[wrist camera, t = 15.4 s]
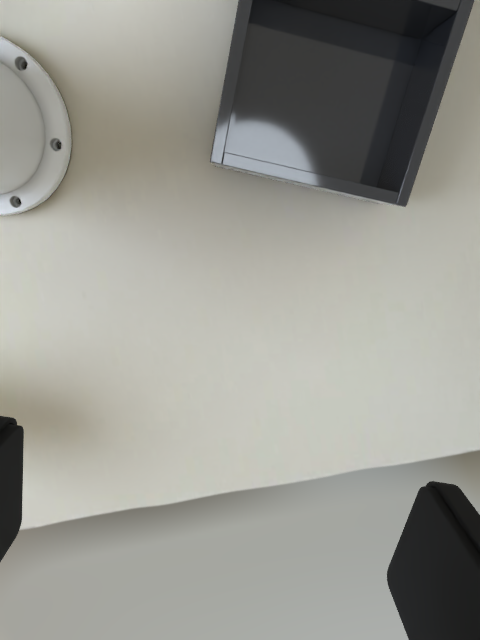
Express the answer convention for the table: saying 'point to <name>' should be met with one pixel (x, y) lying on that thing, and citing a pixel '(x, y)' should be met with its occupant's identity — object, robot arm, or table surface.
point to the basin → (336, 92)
